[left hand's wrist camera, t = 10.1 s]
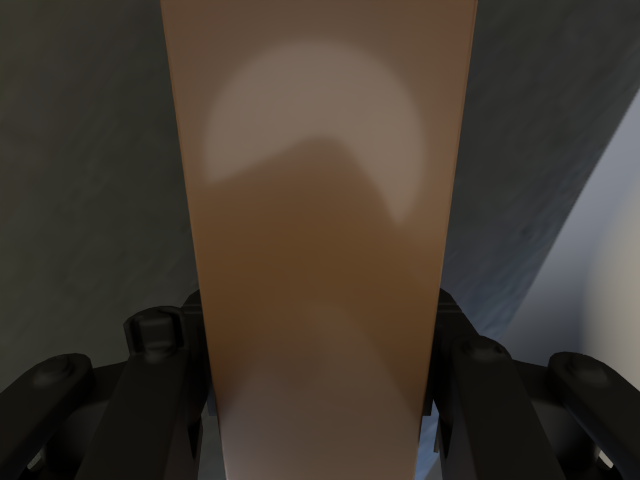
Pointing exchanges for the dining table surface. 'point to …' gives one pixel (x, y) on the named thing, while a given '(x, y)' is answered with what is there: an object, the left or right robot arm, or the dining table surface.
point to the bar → (319, 219)
